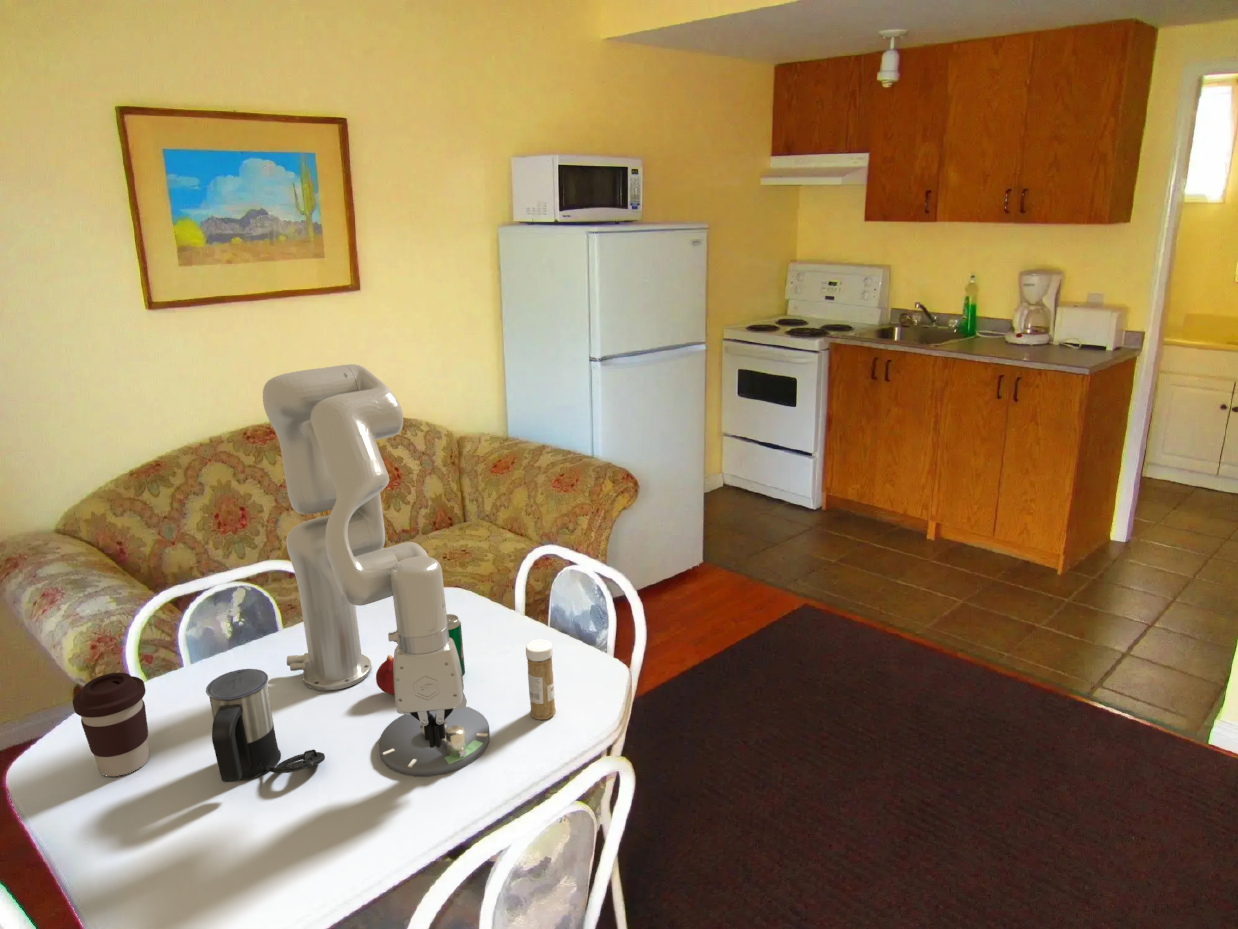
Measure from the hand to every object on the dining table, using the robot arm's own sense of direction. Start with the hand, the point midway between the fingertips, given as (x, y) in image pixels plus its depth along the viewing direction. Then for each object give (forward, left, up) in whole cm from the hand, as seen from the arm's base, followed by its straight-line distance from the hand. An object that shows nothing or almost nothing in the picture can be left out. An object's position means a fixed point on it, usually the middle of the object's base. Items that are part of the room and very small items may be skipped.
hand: (436, 742), depth 137 cm
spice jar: (+17, +13, -5) cm, 22 cm away
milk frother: (-27, +4, -5) cm, 27 cm away
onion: (-10, +23, -5) cm, 25 cm away
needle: (+1, +4, -2) cm, 5 cm away
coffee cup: (-51, +8, -5) cm, 52 cm away
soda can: (0, +28, -5) cm, 28 cm away
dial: (-1, +7, -5) cm, 8 cm away
